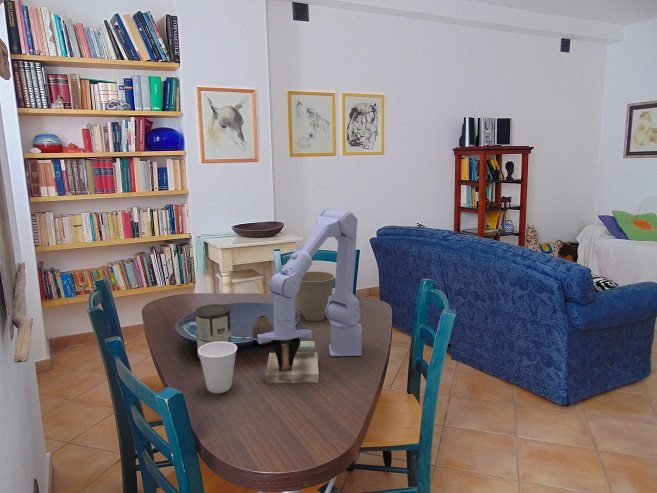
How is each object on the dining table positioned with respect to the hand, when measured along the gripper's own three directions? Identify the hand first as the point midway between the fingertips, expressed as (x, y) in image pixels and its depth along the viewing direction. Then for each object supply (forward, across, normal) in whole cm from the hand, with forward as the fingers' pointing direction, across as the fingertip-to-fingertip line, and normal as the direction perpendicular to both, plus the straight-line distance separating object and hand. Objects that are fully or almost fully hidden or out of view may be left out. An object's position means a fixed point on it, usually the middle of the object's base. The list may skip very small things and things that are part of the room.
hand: (285, 364), depth 134 cm
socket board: (+3, -3, -2) cm, 5 cm away
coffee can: (+4, +18, -21) cm, 27 cm away
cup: (+4, +18, +2) cm, 18 cm away
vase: (+4, +2, -25) cm, 26 cm away
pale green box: (+3, -7, -7) cm, 10 cm away
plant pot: (+4, -19, -43) cm, 47 cm away
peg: (+3, 0, 0) cm, 3 cm away
